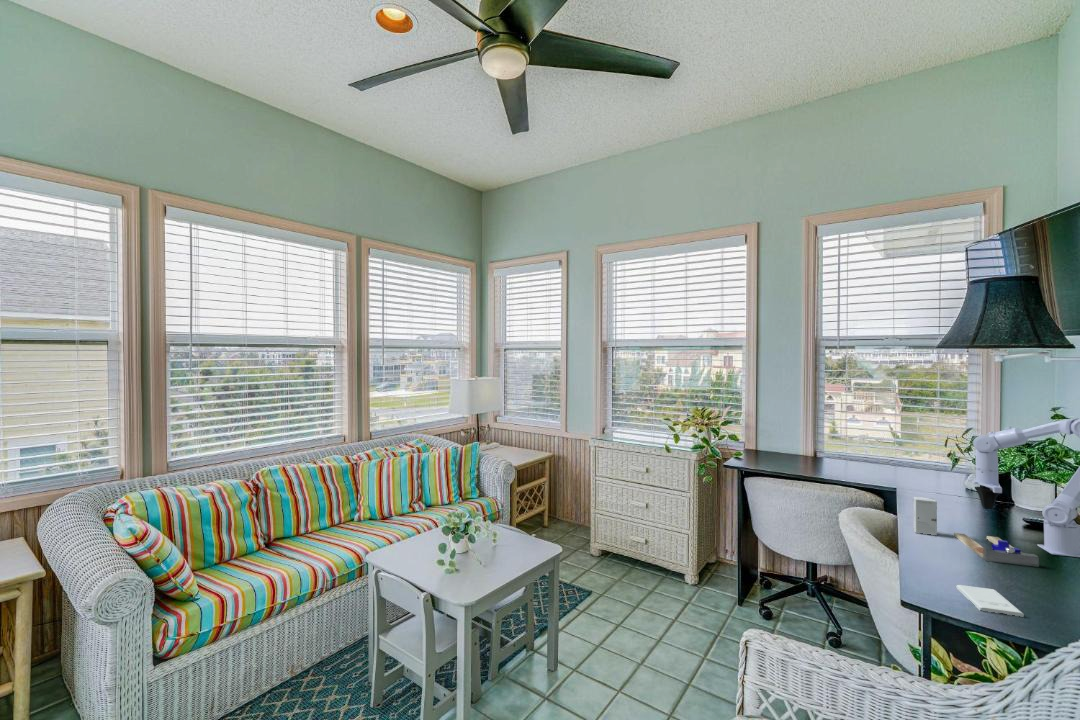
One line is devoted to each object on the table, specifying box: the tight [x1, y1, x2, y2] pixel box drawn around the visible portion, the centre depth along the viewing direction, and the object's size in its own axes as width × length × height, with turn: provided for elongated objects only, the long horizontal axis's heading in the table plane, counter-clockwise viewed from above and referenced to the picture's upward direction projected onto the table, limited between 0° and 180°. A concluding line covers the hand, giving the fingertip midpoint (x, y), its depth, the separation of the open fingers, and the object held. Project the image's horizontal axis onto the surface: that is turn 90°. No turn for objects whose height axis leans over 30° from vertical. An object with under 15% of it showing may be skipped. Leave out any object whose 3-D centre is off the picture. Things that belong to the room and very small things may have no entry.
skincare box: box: [913, 496, 938, 536], centre depth 167 cm, size 6×4×12 cm
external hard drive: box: [956, 584, 1025, 618], centre depth 119 cm, size 2×8×12 cm
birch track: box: [953, 532, 1023, 559], centre depth 152 cm, size 12×21×1 cm, turn 158°
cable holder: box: [991, 539, 1022, 553], centre depth 146 cm, size 8×4×4 cm, turn 158°
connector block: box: [982, 547, 1040, 568], centre depth 142 cm, size 12×2×4 cm, turn 68°
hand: (987, 508), depth 164 cm, fingers closed
